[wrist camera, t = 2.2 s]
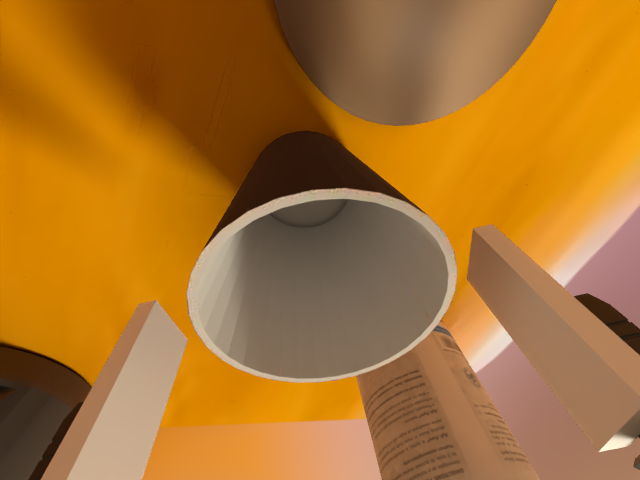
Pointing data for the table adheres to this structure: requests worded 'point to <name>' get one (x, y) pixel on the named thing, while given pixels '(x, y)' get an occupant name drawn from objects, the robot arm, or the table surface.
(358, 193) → the coffee mug
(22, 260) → the table surface
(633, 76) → the table surface
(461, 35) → the walnut base
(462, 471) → the supplement tub
